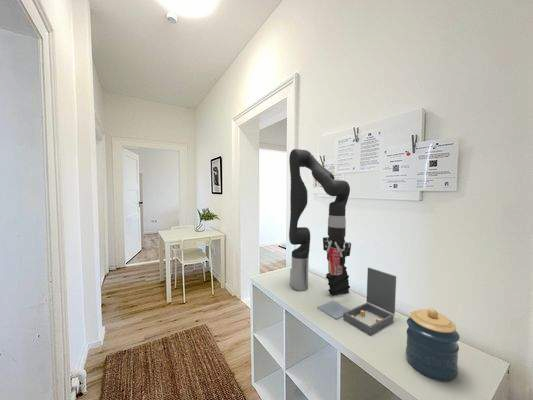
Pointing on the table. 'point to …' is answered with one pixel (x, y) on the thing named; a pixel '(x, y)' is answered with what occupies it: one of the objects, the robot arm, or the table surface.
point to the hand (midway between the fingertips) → (335, 262)
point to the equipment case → (375, 302)
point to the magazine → (338, 283)
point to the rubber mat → (333, 309)
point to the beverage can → (334, 262)
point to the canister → (432, 344)
